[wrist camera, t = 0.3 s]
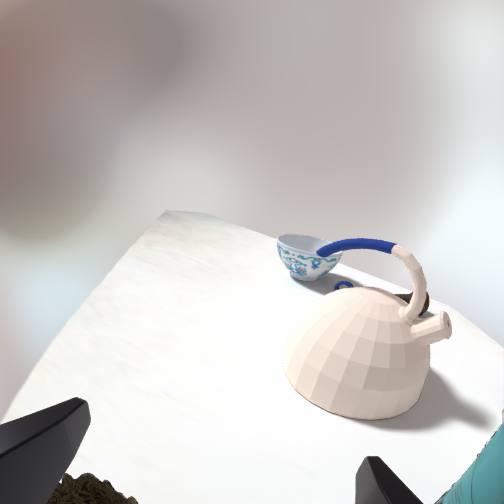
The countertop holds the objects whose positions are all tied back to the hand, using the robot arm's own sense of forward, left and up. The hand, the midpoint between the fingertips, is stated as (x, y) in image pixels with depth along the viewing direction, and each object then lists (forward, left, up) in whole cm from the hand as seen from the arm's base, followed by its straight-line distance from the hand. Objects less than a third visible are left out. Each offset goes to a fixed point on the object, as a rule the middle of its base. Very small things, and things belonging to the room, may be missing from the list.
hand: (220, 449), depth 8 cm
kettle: (+29, -16, -17) cm, 37 cm away
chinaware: (+64, -12, -17) cm, 67 cm away
